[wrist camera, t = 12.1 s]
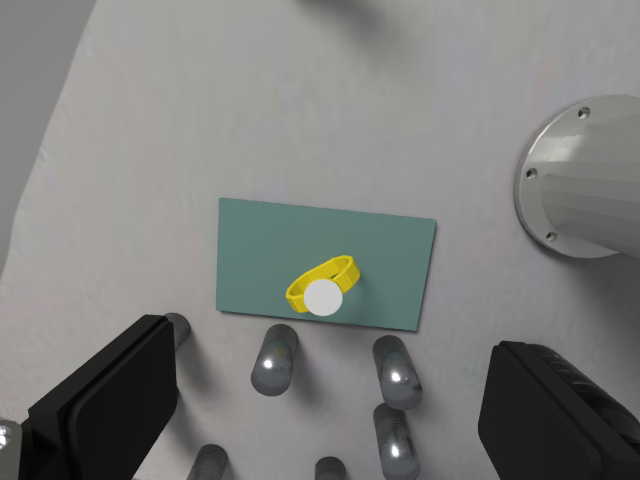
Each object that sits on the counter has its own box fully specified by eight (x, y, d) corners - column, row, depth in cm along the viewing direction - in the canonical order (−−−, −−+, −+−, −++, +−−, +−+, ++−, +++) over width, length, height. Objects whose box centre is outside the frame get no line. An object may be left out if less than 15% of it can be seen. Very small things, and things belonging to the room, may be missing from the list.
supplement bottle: (536, 416, 33) (650, 556, 21) (474, 388, 32) (556, 516, 21) (579, 359, 32) (726, 476, 20) (515, 328, 31) (627, 430, 19)
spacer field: (418, 338, 31) (438, 378, 26) (391, 487, 35) (403, 552, 29) (146, 310, 31) (105, 344, 26) (149, 462, 35) (114, 521, 30)
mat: (434, 219, 29) (436, 220, 28) (414, 327, 31) (416, 330, 31) (221, 197, 29) (219, 198, 28) (217, 307, 31) (215, 310, 31)
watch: (344, 241, 29) (353, 259, 23) (359, 269, 30) (372, 292, 24) (283, 275, 30) (277, 300, 24) (299, 301, 30) (297, 332, 24)
